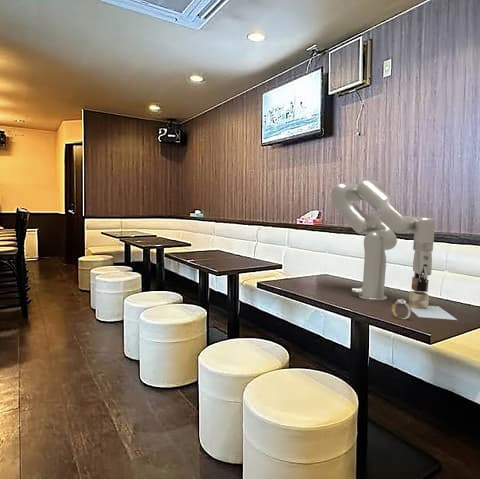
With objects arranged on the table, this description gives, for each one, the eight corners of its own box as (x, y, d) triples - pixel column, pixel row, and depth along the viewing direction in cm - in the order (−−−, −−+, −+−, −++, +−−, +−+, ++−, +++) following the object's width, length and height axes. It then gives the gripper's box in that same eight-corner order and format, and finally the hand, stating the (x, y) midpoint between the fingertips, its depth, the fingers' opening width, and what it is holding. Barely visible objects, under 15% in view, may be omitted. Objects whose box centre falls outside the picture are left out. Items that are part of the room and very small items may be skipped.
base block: (412, 308, 164) (413, 294, 163) (408, 304, 170) (409, 290, 169) (427, 309, 163) (429, 295, 163) (423, 305, 169) (424, 291, 169)
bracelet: (389, 318, 150) (391, 297, 150) (394, 317, 152) (396, 296, 152) (406, 323, 145) (408, 301, 144) (411, 321, 147) (413, 300, 146)
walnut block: (414, 291, 164) (415, 279, 163) (411, 288, 169) (412, 277, 168) (427, 292, 163) (428, 280, 163) (423, 289, 168) (424, 277, 168)
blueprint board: (418, 318, 151) (418, 316, 151) (403, 305, 172) (404, 303, 172) (457, 322, 149) (457, 319, 149) (437, 307, 170) (438, 305, 170)
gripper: (439, 249, 155) (435, 295, 157) (425, 245, 172) (422, 286, 174) (419, 248, 156) (415, 293, 158) (407, 244, 173) (404, 285, 175)
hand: (419, 289), depth 166 cm, fingers closed on walnut block, 5 cm apart
